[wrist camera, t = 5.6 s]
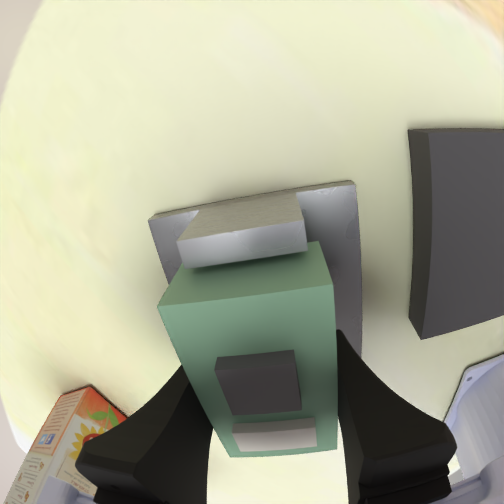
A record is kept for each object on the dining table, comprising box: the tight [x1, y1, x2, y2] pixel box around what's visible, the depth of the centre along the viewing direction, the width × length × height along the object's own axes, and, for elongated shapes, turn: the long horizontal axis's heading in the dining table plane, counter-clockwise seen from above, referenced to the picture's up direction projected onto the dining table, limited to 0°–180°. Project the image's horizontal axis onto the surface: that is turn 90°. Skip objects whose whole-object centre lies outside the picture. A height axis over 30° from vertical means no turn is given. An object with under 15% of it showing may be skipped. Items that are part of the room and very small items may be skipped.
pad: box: [408, 128, 504, 340], centre depth 12 cm, size 10×7×2 cm
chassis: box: [148, 181, 362, 358], centre depth 14 cm, size 12×9×4 cm
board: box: [157, 241, 338, 457], centre depth 11 cm, size 9×5×4 cm, turn 11°
